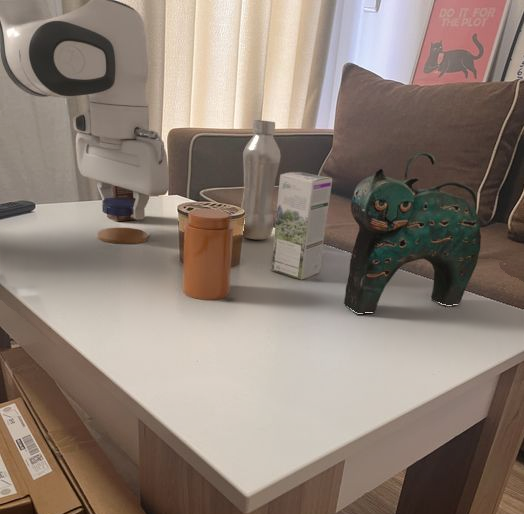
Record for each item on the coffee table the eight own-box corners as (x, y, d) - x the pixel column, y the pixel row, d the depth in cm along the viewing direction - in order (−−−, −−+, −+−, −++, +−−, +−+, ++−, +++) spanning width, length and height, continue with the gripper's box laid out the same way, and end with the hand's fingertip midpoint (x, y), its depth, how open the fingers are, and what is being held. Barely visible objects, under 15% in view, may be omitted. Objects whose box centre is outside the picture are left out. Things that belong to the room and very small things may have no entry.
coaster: (104, 245, 85) (104, 241, 85) (92, 231, 91) (92, 228, 91) (154, 242, 89) (154, 239, 88) (139, 229, 95) (139, 226, 95)
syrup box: (320, 273, 82) (334, 176, 75) (300, 281, 77) (313, 179, 71) (290, 264, 85) (301, 170, 78) (269, 271, 80) (278, 172, 74)
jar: (194, 302, 66) (197, 220, 62) (175, 285, 71) (176, 208, 66) (237, 296, 69) (243, 218, 65) (216, 281, 74) (220, 207, 69)
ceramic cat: (349, 319, 66) (379, 151, 57) (325, 300, 71) (349, 143, 62) (471, 309, 73) (515, 159, 64) (441, 293, 78) (478, 151, 70)
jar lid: (149, 215, 88) (149, 205, 87) (113, 217, 84) (112, 206, 83) (132, 207, 92) (132, 197, 91) (96, 209, 88) (96, 198, 87)
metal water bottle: (244, 231, 101) (253, 118, 92) (277, 238, 99) (289, 123, 90) (230, 238, 95) (238, 119, 86) (265, 245, 93) (276, 124, 84)
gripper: (179, 132, 78) (178, 224, 84) (100, 118, 90) (104, 200, 96) (145, 132, 74) (146, 229, 80) (66, 117, 85) (73, 203, 91)
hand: (122, 213), depth 88 cm, fingers closed on jar lid, 6 cm apart
